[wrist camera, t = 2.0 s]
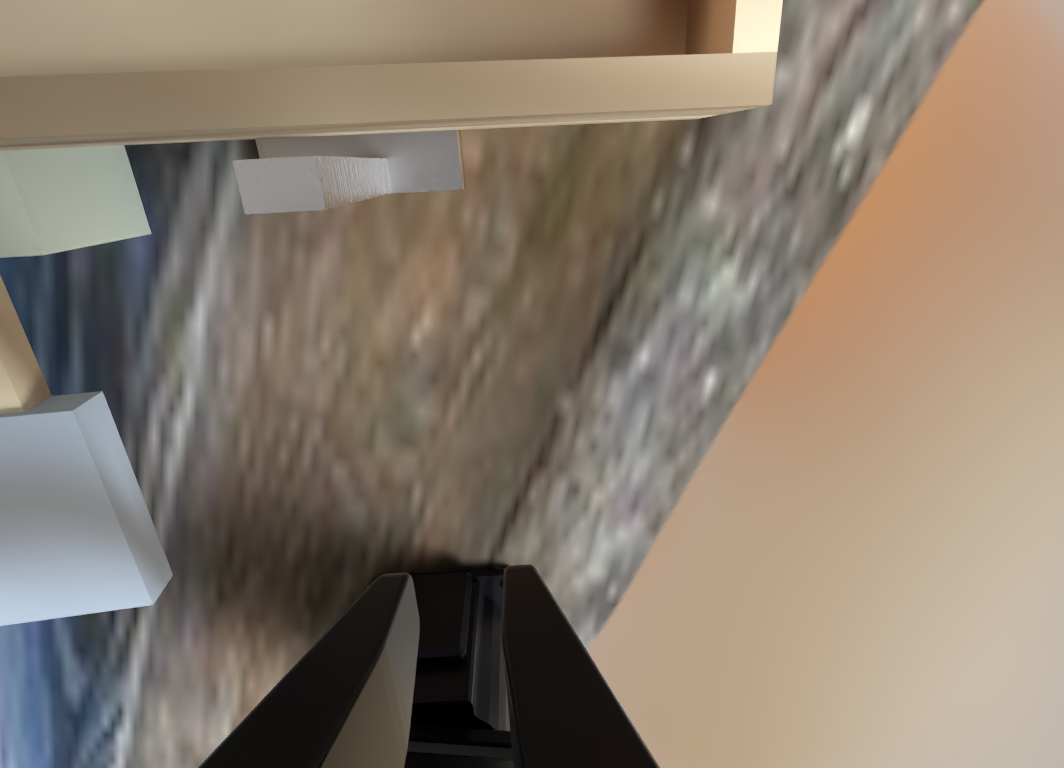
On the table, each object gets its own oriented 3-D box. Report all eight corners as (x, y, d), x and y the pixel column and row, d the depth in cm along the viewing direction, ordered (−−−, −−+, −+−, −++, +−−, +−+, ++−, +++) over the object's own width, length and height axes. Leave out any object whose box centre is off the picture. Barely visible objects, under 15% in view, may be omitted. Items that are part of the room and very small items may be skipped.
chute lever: (642, 440, 19) (723, 554, 13) (43, 509, 16) (-160, 680, 11) (664, -237, 12) (843, -572, 7) (-325, -269, 10) (-1279, -805, 4)
